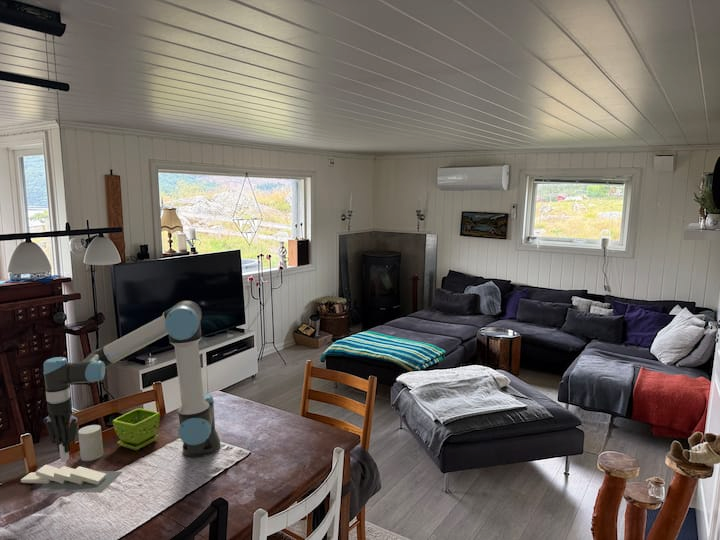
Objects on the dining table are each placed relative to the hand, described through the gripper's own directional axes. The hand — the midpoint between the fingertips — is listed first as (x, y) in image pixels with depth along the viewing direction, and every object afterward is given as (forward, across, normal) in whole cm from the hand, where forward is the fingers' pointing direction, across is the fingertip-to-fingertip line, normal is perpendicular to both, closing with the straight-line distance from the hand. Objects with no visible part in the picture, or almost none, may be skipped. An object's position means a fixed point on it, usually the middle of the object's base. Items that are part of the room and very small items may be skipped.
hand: (65, 460), depth 183 cm
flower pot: (+9, -11, -30) cm, 33 cm away
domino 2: (+7, 0, 0) cm, 7 cm away
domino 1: (+7, +6, 0) cm, 9 cm away
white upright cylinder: (+9, +2, -18) cm, 20 cm away
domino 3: (+7, -8, 0) cm, 10 cm away
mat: (+8, -6, 0) cm, 10 cm away
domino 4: (+7, -14, 0) cm, 16 cm away
